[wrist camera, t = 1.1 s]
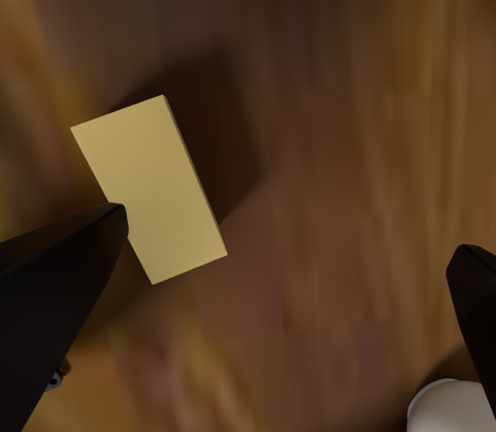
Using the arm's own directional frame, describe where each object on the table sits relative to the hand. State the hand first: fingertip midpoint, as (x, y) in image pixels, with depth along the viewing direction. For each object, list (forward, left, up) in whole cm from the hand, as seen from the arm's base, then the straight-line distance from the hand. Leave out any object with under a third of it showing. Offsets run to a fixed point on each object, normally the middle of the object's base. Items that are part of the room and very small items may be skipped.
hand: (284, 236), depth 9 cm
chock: (-4, +1, -12) cm, 12 cm away
